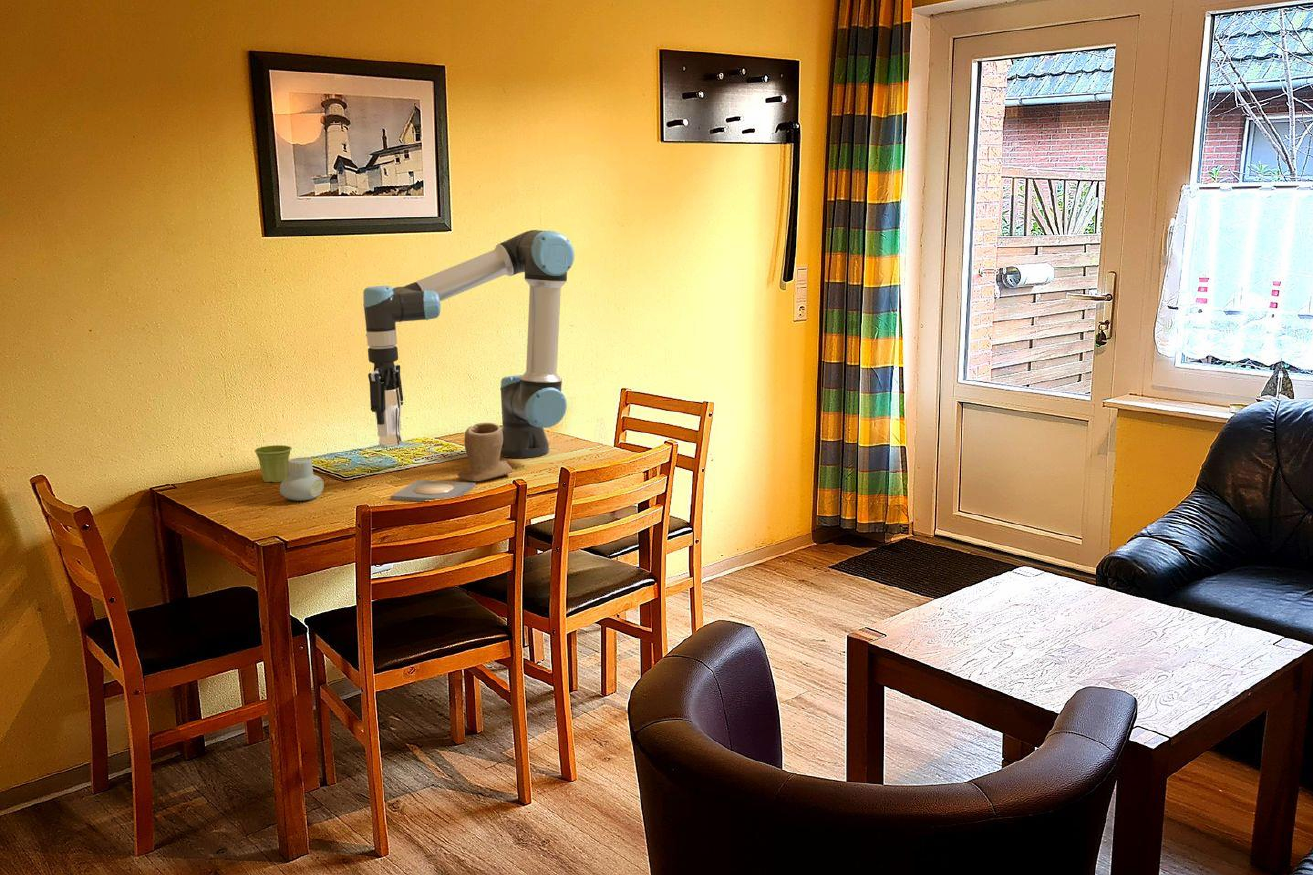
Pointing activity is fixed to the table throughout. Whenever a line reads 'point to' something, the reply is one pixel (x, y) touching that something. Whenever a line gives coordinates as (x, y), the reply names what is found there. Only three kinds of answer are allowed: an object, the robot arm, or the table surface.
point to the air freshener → (301, 481)
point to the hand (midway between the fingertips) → (389, 432)
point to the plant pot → (274, 462)
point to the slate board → (432, 490)
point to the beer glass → (392, 418)
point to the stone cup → (484, 453)
